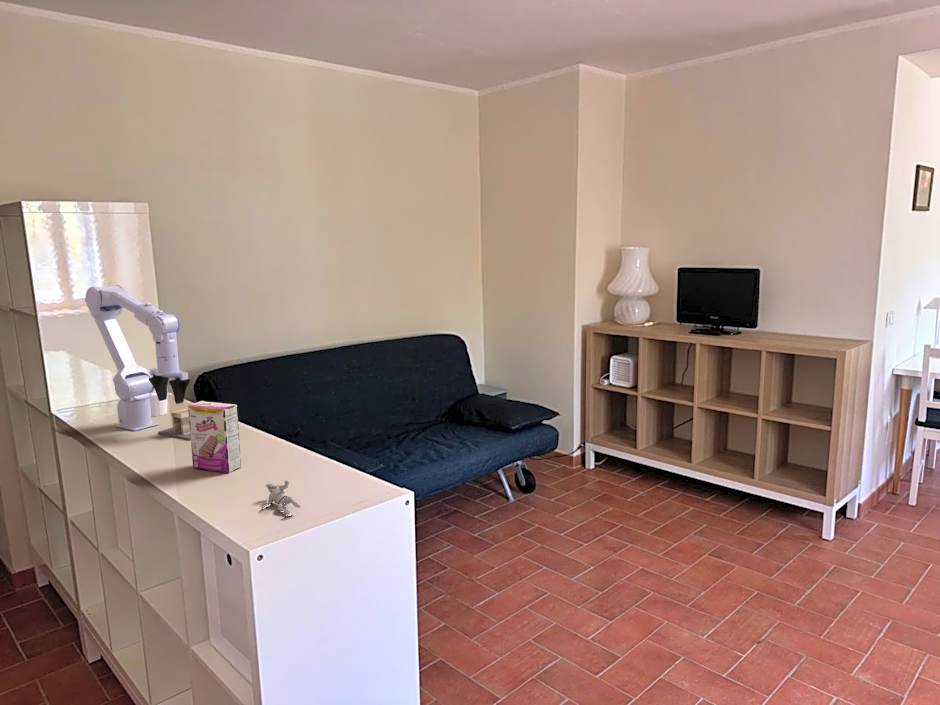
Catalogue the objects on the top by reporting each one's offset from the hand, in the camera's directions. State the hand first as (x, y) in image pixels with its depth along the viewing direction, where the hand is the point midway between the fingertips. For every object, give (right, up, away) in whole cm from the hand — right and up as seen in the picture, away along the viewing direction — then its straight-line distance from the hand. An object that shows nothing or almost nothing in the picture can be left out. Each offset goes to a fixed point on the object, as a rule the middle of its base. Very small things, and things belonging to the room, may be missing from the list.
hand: (171, 401), depth 190 cm
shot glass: (-15, -6, +22) cm, 27 cm away
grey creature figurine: (+48, -19, -53) cm, 74 cm away
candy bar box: (+25, -15, -29) cm, 41 cm away
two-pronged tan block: (+4, -9, +1) cm, 10 cm away
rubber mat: (+4, -9, +1) cm, 10 cm away
